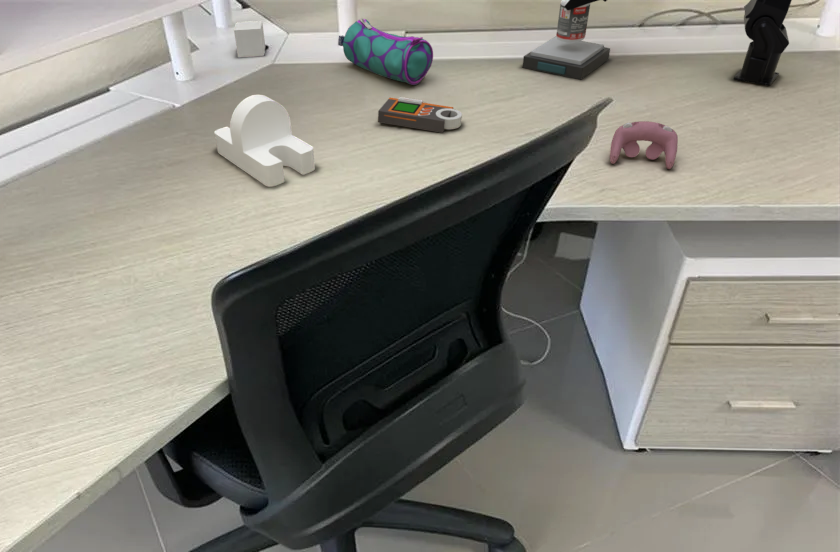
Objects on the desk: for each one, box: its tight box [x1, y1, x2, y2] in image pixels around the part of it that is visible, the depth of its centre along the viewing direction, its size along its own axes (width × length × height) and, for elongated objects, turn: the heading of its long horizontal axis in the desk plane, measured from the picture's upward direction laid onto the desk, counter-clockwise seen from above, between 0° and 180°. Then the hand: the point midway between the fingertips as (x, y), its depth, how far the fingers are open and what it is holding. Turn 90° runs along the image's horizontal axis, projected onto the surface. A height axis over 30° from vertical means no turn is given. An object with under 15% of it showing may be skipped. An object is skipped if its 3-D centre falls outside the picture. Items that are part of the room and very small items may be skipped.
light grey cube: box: [233, 20, 266, 58], centre depth 161 cm, size 6×6×6 cm
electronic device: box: [377, 96, 463, 133], centre depth 128 cm, size 7×3×15 cm
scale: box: [521, 35, 611, 81], centre depth 146 cm, size 13×13×3 cm
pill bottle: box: [555, 0, 591, 42], centre depth 140 cm, size 6×6×10 cm
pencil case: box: [337, 17, 434, 86], centre depth 145 cm, size 21×9×10 cm, turn 39°
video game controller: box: [609, 120, 679, 170], centre depth 112 cm, size 10×5×7 cm, turn 71°
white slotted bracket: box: [213, 94, 316, 188], centre depth 117 cm, size 10×18×11 cm, turn 37°
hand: (568, 3), depth 140 cm, fingers closed on pill bottle, 6 cm apart
